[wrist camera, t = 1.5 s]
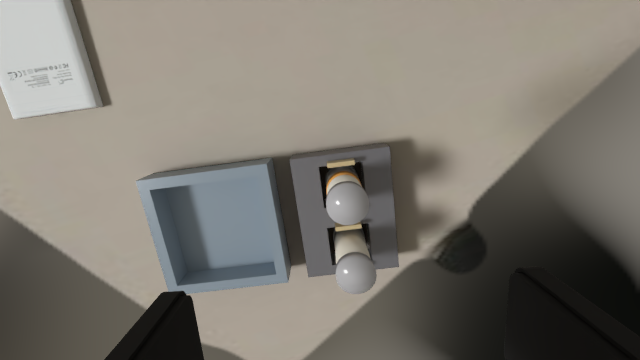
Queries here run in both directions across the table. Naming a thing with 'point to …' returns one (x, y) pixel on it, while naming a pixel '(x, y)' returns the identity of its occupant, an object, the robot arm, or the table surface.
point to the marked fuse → (345, 196)
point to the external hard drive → (44, 59)
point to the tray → (217, 226)
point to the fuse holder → (318, 221)
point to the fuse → (353, 261)
